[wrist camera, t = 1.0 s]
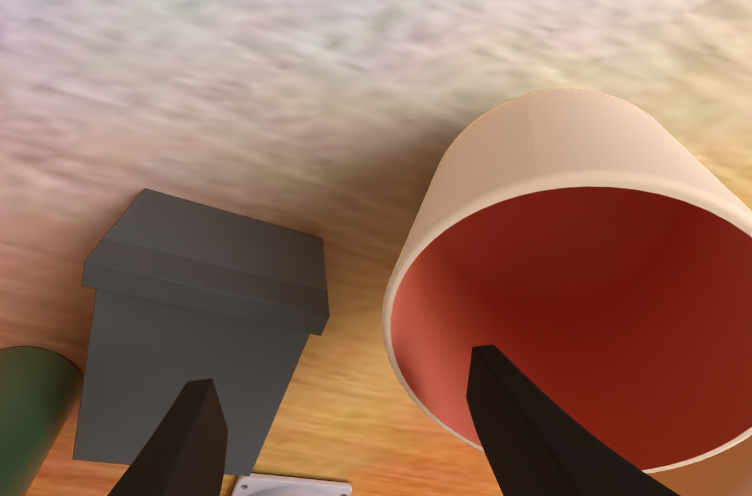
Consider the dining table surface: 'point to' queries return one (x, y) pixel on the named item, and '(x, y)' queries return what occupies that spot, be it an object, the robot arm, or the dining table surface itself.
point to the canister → (32, 411)
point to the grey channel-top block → (194, 323)
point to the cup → (581, 278)
